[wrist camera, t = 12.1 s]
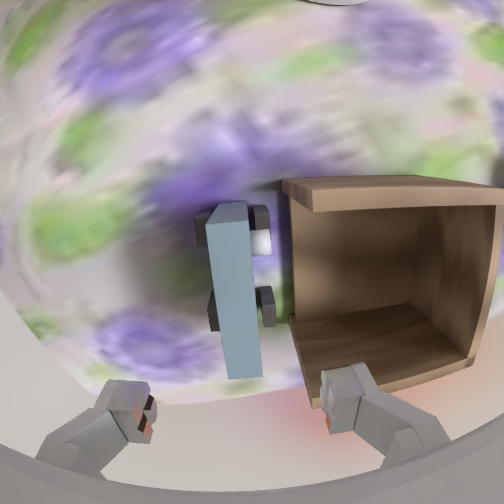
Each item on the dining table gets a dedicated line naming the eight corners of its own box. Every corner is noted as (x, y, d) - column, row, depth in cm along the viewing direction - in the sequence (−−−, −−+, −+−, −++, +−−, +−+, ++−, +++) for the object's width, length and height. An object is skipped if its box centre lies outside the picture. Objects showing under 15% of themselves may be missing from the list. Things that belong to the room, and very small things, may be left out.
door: (270, 311, 26) (281, 374, 18) (232, 314, 26) (228, 379, 18) (261, 199, 24) (272, 218, 15) (219, 203, 24) (205, 224, 15)
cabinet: (198, 186, 23) (161, 204, 13) (419, 175, 23) (505, 188, 13) (217, 330, 27) (206, 417, 16) (411, 305, 27) (472, 365, 16)
